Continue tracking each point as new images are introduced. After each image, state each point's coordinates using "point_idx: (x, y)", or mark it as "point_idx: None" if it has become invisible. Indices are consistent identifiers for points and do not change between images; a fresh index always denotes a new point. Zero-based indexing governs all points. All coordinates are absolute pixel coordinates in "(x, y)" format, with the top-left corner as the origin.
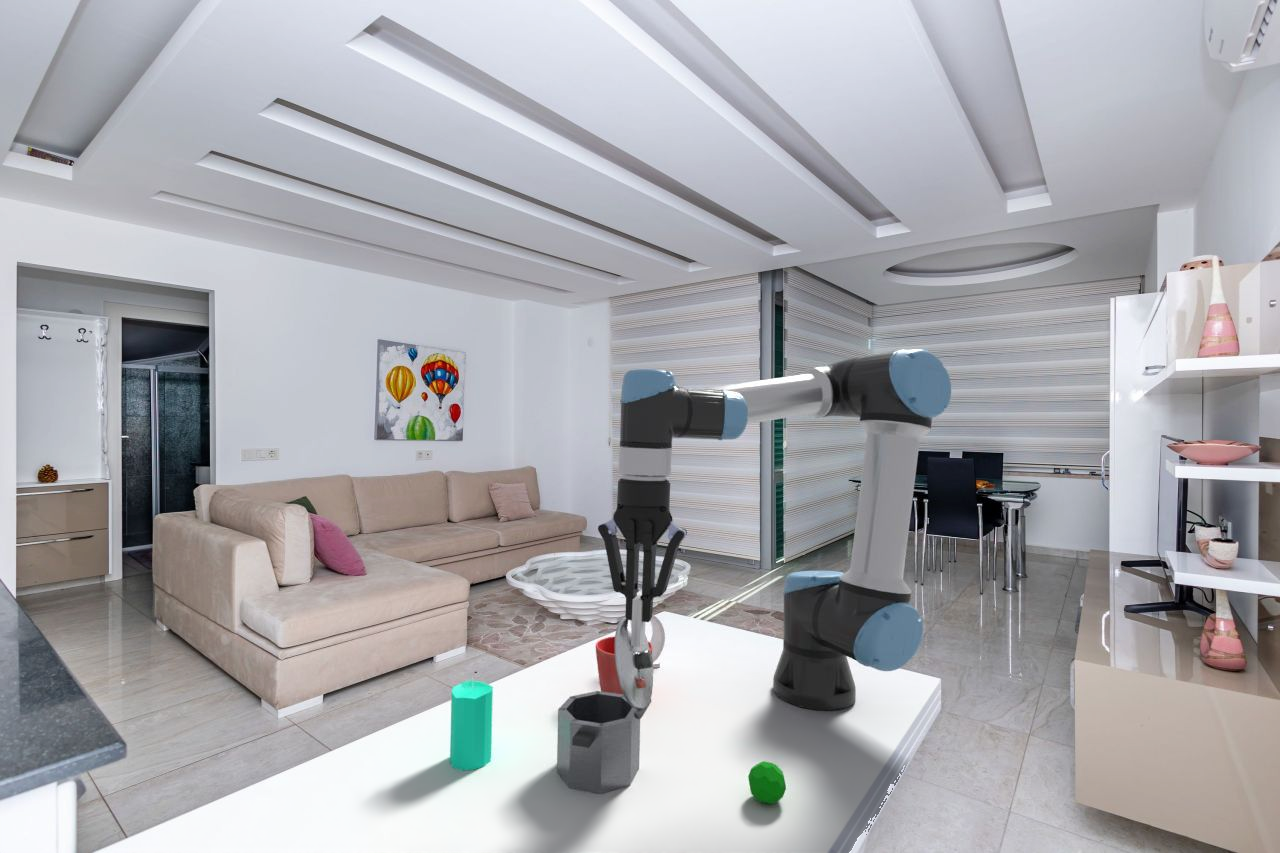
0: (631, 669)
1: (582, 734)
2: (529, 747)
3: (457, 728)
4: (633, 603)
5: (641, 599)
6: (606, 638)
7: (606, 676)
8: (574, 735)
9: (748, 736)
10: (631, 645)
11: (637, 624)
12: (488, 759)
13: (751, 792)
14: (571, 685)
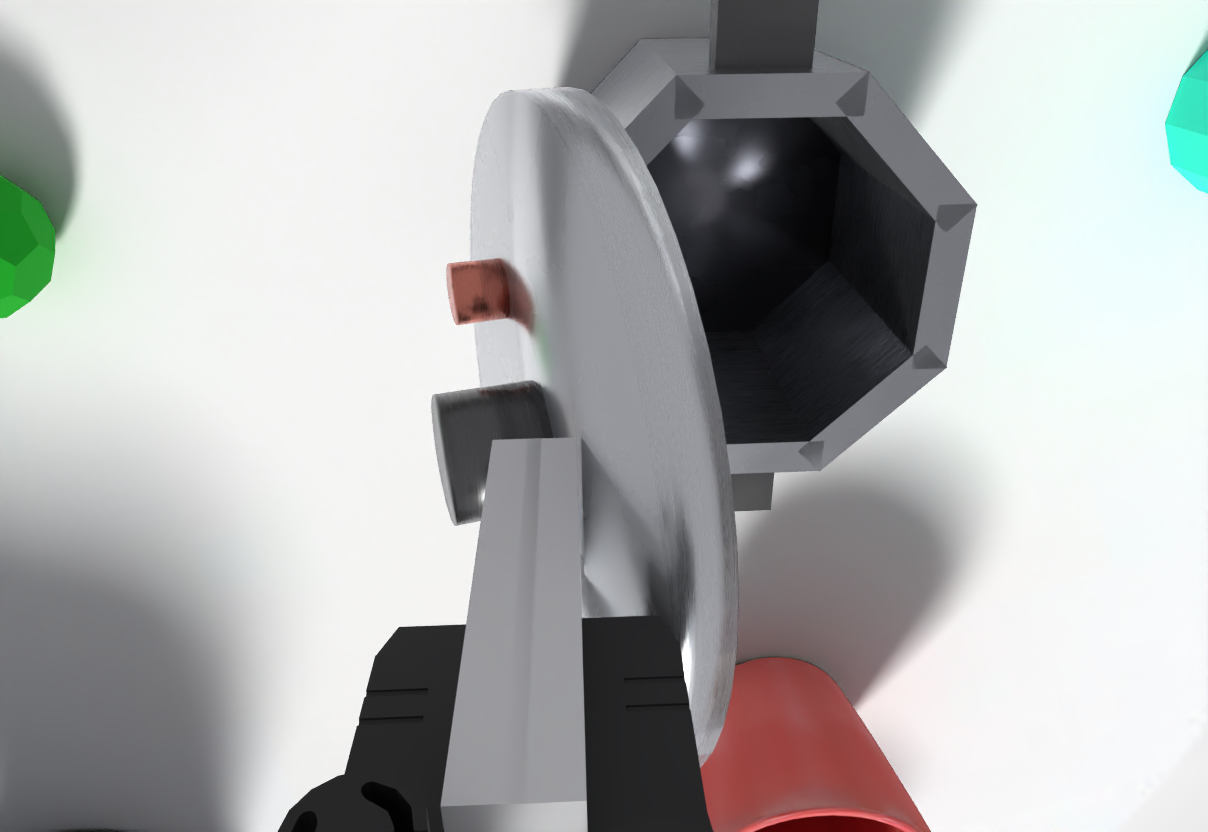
0: (530, 273)
1: (776, 35)
2: (1027, 276)
3: None
4: (568, 748)
5: (409, 787)
6: None
7: (842, 731)
8: (816, 4)
9: (231, 609)
10: (571, 440)
11: (510, 564)
12: (1179, 110)
13: (32, 197)
14: (977, 732)
